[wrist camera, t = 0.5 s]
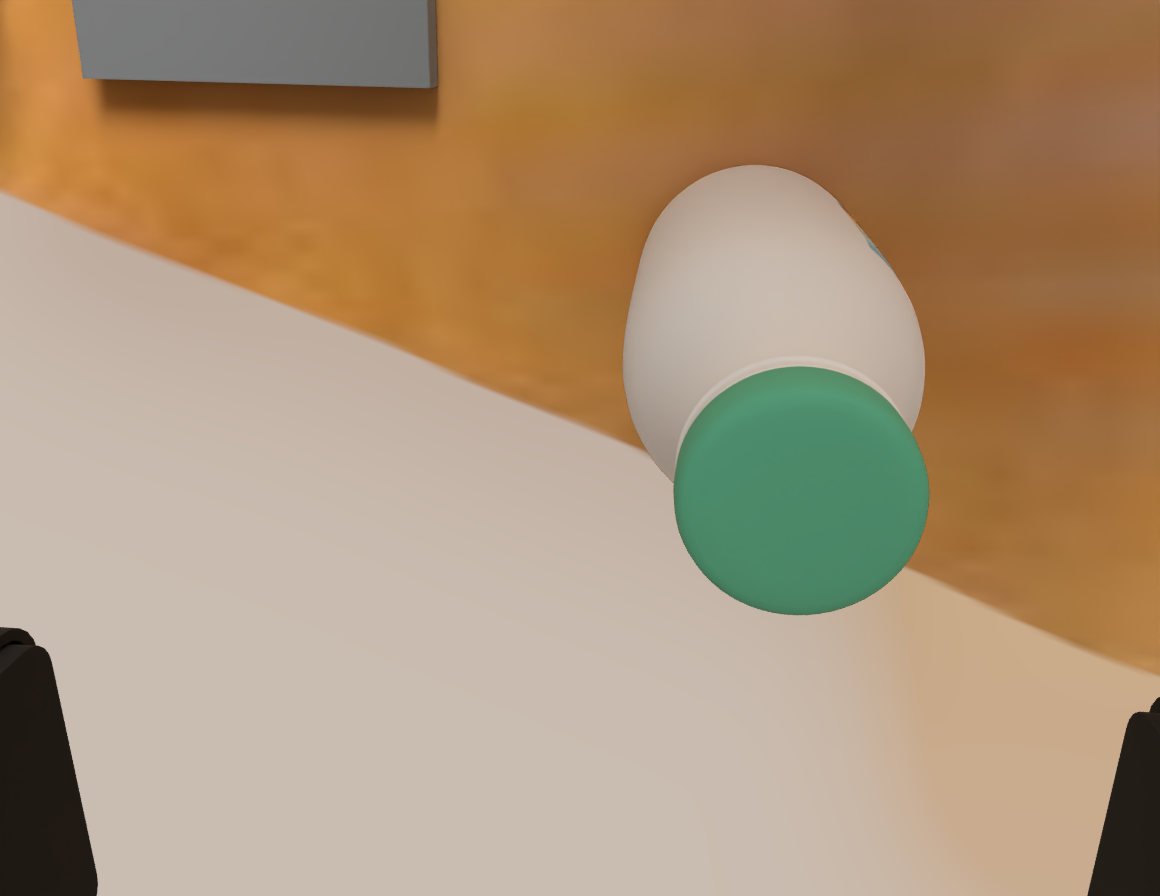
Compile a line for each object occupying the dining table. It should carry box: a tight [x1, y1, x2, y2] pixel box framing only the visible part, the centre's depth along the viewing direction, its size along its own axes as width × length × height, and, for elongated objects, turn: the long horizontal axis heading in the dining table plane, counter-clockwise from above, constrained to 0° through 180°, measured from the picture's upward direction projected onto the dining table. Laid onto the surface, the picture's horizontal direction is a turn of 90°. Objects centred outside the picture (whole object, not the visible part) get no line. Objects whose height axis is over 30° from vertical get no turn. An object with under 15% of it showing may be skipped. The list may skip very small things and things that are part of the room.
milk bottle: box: [623, 165, 929, 615], centre depth 28 cm, size 8×8×20 cm
